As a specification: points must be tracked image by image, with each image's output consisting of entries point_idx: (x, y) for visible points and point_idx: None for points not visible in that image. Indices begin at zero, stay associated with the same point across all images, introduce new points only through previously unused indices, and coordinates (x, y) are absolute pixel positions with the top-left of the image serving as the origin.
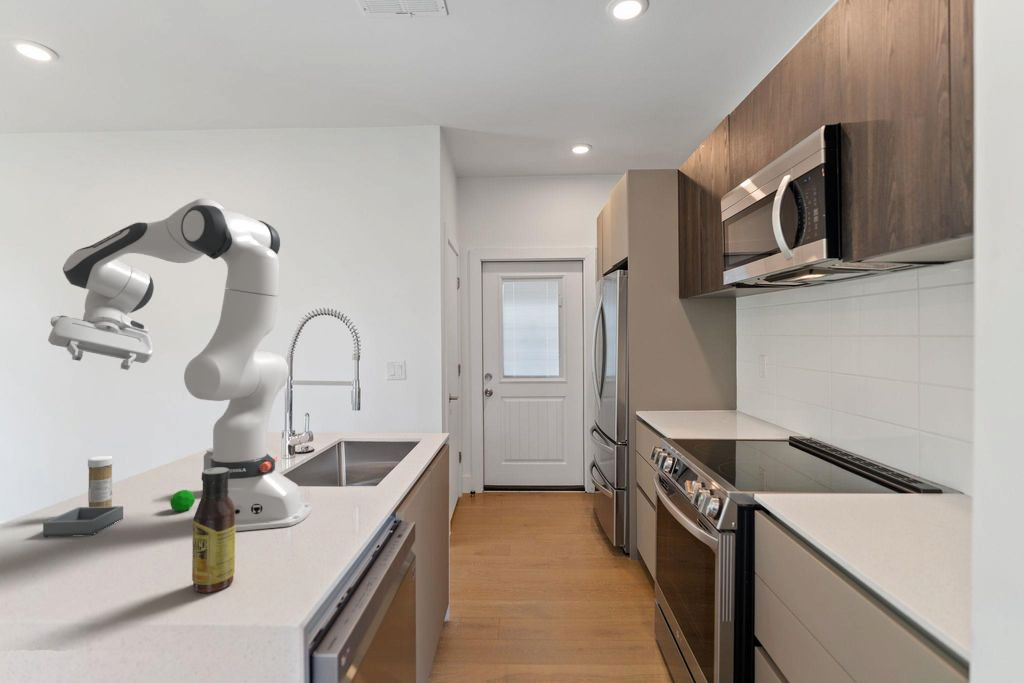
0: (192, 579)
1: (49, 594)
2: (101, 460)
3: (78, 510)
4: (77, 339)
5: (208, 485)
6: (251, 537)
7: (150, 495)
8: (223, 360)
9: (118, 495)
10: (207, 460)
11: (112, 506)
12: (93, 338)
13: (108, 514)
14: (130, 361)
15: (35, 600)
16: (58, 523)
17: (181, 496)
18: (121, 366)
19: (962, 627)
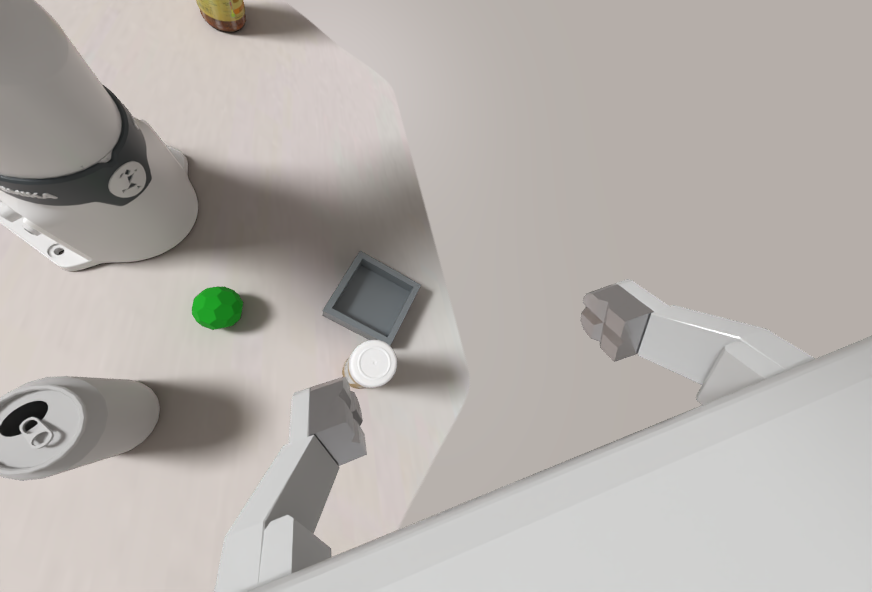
0: (244, 8)
1: (372, 108)
2: (369, 340)
3: (388, 335)
4: (800, 368)
5: None
6: (141, 110)
7: None
8: None
9: (340, 499)
10: (105, 393)
11: (339, 319)
12: (752, 475)
13: (341, 280)
14: (290, 431)
15: (380, 104)
16: (402, 275)
17: (218, 288)
18: (357, 405)
19: None
